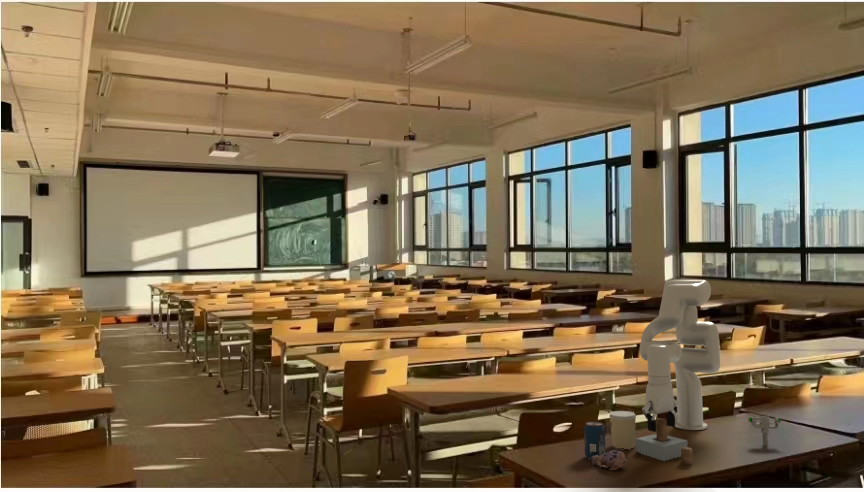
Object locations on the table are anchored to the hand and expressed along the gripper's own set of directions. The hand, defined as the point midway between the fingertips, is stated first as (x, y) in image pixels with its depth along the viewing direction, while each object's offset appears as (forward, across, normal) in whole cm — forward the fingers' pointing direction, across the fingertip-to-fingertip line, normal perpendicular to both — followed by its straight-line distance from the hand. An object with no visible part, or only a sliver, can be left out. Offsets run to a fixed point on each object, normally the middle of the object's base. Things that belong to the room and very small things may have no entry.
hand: (661, 428), depth 230 cm
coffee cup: (+9, +5, -14) cm, 17 cm away
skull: (+9, +26, 0) cm, 27 cm away
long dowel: (+9, +1, 0) cm, 9 cm away
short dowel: (+9, +3, +12) cm, 15 cm away
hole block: (+9, +1, 0) cm, 9 cm away
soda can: (+9, +23, -10) cm, 26 cm away
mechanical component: (+10, -37, +14) cm, 41 cm away
